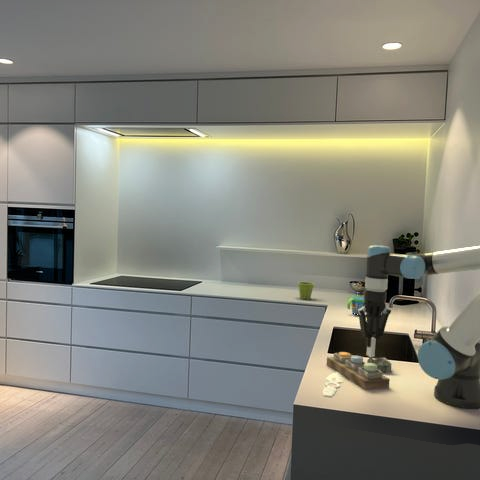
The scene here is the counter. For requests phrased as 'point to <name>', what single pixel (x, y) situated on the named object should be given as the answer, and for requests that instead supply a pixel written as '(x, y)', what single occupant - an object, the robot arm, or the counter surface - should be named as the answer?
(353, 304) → the snack cup
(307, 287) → the plant pot
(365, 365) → the sage button
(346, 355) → the orange button
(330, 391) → the cream scalloped strip
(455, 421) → the counter surface
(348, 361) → the wooden tray
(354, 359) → the slate button
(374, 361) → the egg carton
